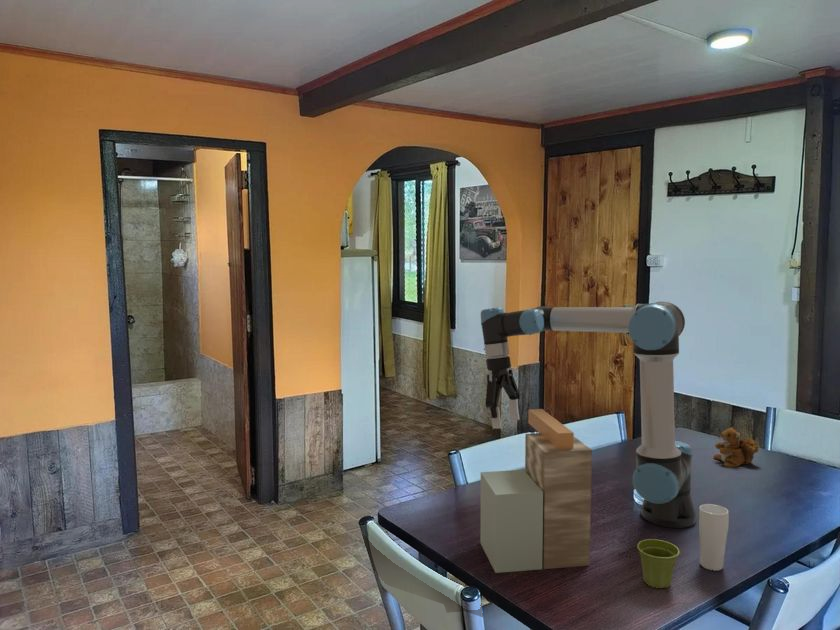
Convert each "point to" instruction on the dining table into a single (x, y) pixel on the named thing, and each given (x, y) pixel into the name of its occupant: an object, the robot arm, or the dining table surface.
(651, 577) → the plant pot
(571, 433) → the orange bar
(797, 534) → the dining table surface
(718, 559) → the drinking glass
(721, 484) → the dining table surface
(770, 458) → the dining table surface
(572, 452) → the tall stand
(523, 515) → the sage green pillar
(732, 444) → the stuffed squirrel
